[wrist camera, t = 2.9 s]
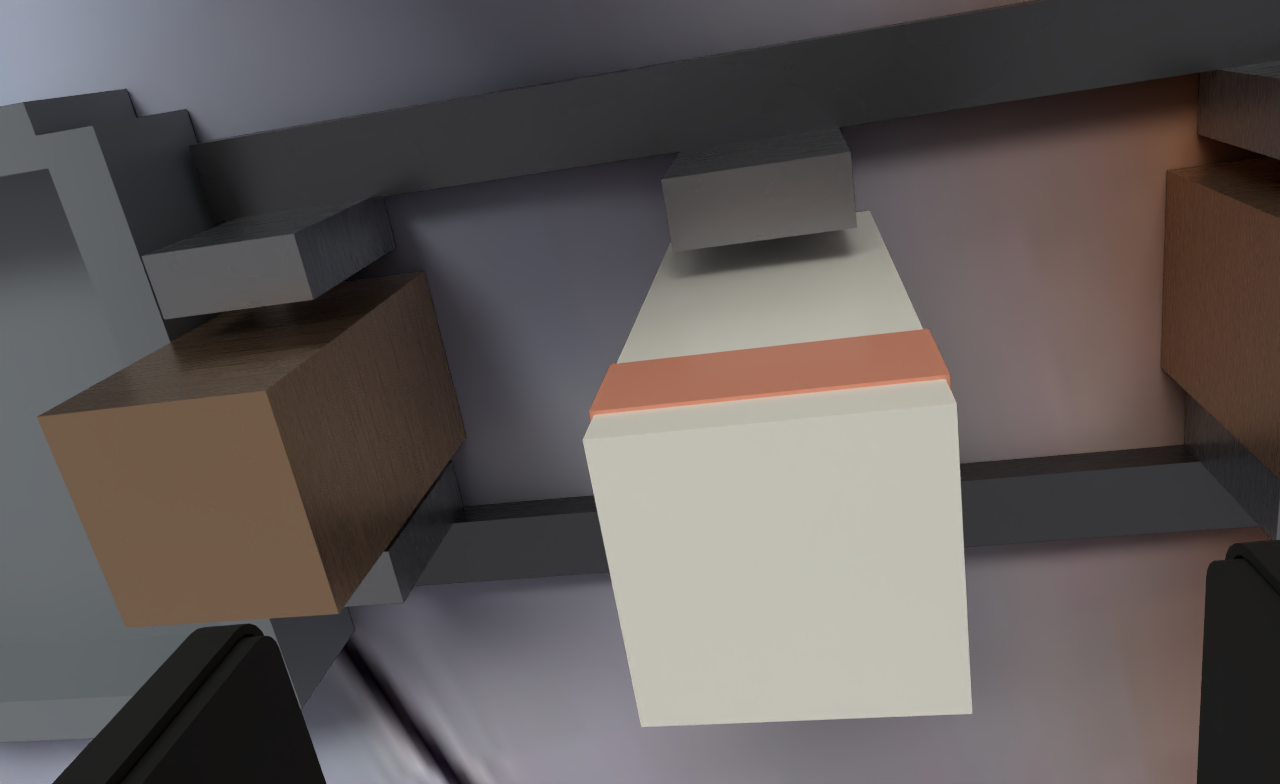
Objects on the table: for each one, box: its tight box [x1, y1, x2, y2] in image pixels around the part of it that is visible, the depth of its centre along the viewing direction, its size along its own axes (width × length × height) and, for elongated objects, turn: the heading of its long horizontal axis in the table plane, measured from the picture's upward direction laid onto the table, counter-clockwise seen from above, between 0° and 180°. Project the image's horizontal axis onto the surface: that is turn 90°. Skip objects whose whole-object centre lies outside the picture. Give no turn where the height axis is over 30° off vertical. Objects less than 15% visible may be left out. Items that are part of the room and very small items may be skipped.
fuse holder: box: [37, 0, 1280, 628], centre depth 17 cm, size 23×11×7 cm, turn 100°
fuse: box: [583, 210, 972, 727], centre depth 15 cm, size 4×4×10 cm
